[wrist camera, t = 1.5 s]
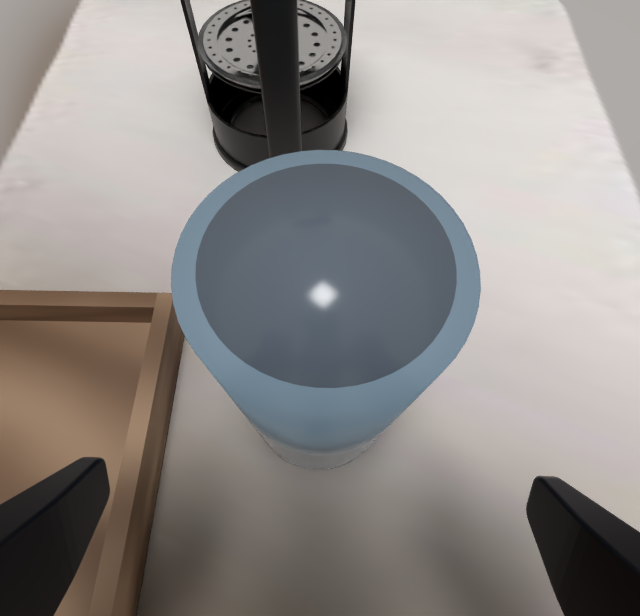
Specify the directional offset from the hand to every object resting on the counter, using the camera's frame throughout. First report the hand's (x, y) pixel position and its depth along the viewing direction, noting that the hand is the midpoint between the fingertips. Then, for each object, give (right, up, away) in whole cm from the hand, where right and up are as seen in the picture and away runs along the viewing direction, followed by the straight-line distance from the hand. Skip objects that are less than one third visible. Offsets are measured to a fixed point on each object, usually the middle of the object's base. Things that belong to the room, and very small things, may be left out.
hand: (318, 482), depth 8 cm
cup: (0, -1, +12) cm, 12 cm away
